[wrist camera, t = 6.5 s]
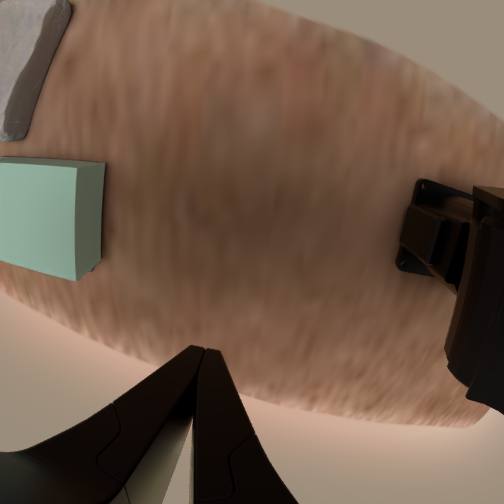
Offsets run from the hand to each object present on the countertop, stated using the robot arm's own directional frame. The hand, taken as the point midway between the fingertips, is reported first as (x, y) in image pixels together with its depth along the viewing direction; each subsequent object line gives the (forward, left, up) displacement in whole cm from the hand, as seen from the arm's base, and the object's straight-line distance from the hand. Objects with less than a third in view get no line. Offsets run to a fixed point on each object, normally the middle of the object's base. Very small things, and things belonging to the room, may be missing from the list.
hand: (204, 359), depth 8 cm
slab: (+10, 0, -11) cm, 14 cm away
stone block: (+21, -11, -13) cm, 27 cm away
